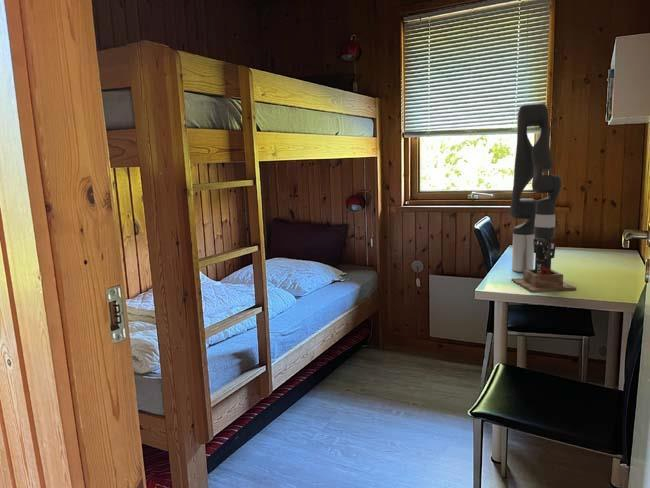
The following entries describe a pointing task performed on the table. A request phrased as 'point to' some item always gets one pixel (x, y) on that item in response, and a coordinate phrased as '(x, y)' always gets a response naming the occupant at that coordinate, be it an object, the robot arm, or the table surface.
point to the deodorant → (541, 261)
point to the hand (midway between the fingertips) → (543, 266)
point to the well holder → (543, 282)
